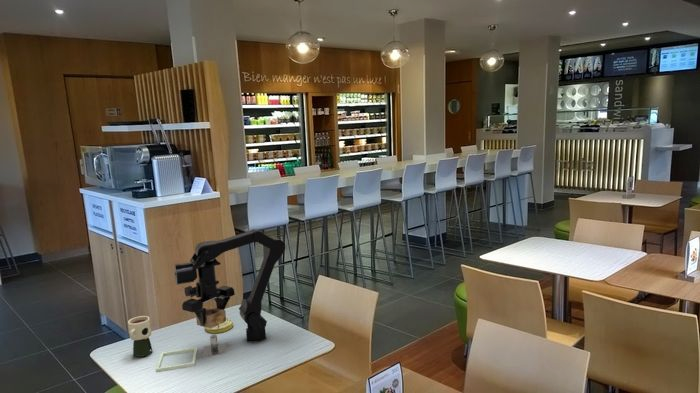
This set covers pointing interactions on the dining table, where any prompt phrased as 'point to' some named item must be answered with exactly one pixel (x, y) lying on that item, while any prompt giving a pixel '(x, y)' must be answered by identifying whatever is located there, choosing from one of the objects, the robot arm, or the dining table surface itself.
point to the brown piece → (213, 317)
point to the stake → (214, 347)
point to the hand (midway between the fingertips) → (211, 321)
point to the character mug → (140, 335)
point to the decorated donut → (221, 327)
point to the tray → (159, 369)
